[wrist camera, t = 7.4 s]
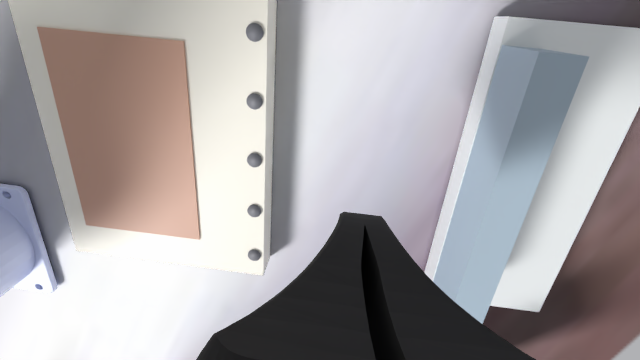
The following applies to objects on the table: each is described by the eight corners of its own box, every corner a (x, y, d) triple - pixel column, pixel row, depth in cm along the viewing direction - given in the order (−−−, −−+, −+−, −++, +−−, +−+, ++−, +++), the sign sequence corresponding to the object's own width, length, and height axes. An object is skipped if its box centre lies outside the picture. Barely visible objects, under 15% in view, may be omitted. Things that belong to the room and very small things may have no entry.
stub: (422, 278, 20) (439, 343, 16) (494, 16, 14) (549, 16, 10) (526, 292, 20) (570, 361, 16) (645, 30, 14) (763, 35, 10)
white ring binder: (96, 234, 21) (74, 252, 20) (34, -26, 15) (-3, -31, 14) (270, 256, 21) (262, 276, 19) (276, -4, 15) (267, -6, 13)
